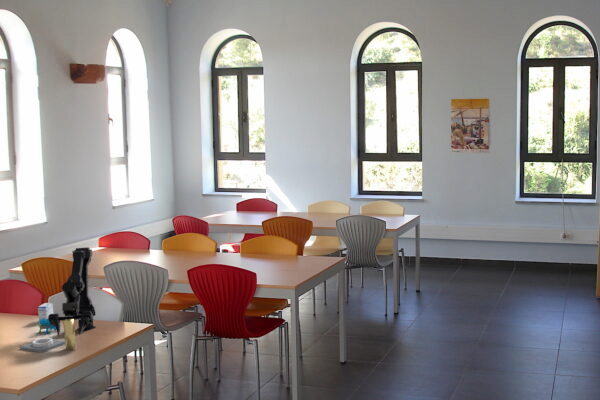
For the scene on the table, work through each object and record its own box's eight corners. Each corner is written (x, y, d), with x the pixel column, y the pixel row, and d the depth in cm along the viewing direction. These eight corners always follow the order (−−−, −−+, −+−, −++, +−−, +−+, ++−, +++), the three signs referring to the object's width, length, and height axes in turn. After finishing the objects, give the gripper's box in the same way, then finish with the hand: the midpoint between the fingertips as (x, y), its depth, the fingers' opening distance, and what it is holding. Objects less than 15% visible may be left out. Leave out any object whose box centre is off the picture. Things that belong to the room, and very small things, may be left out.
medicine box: (46, 319, 397) (44, 302, 396) (54, 319, 396) (52, 302, 396) (38, 323, 389) (37, 306, 388) (47, 323, 389) (45, 306, 388)
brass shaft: (71, 346, 344) (68, 318, 343) (78, 347, 342) (75, 318, 341) (63, 349, 341) (61, 320, 339) (71, 350, 338) (68, 321, 337)
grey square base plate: (44, 340, 356) (43, 335, 356) (66, 343, 350) (65, 337, 349) (19, 349, 344) (19, 343, 344) (42, 352, 337) (41, 346, 337)
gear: (64, 326, 374) (51, 316, 367) (60, 337, 370) (47, 327, 363) (47, 328, 378) (34, 318, 371) (42, 339, 375) (29, 328, 368)
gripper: (47, 296, 342) (42, 327, 332) (90, 293, 343) (86, 324, 334) (53, 309, 351) (49, 339, 341) (94, 306, 352) (92, 336, 342)
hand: (69, 334), depth 339 cm, fingers open, 9 cm apart
